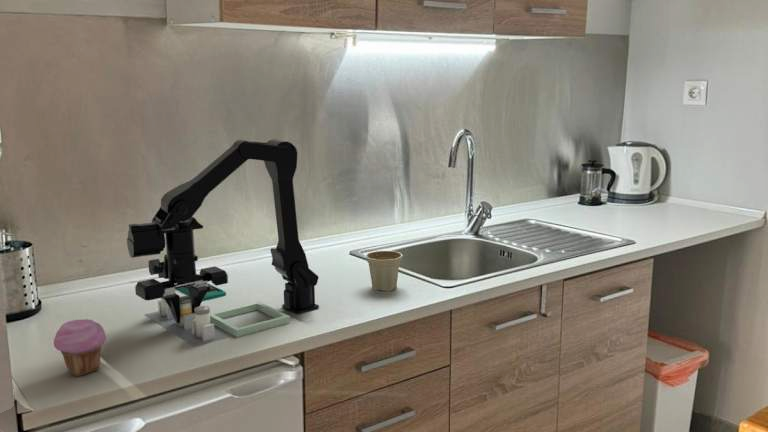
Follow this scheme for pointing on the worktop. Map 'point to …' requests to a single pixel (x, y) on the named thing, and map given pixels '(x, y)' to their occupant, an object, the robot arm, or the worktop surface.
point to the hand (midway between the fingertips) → (185, 320)
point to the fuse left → (163, 308)
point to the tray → (279, 320)
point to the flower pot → (384, 269)
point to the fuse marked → (184, 308)
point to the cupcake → (80, 345)
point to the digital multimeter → (210, 294)
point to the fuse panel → (187, 327)
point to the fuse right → (201, 319)
